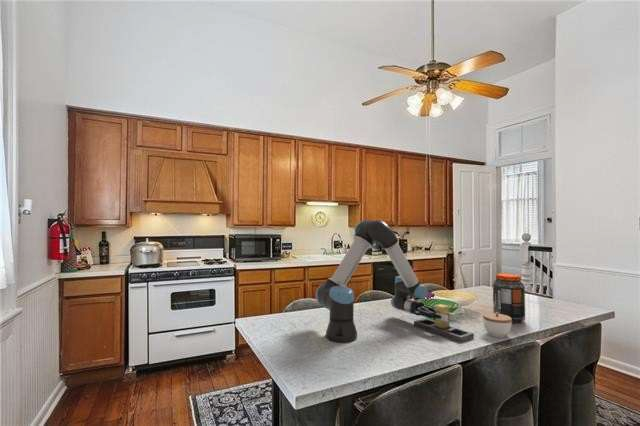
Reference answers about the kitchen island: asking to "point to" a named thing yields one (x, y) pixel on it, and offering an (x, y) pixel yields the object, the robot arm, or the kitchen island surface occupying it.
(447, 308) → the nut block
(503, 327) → the lidded bowl
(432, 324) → the dark grey slotted tray
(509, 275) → the supplement tub
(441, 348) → the kitchen island surface
